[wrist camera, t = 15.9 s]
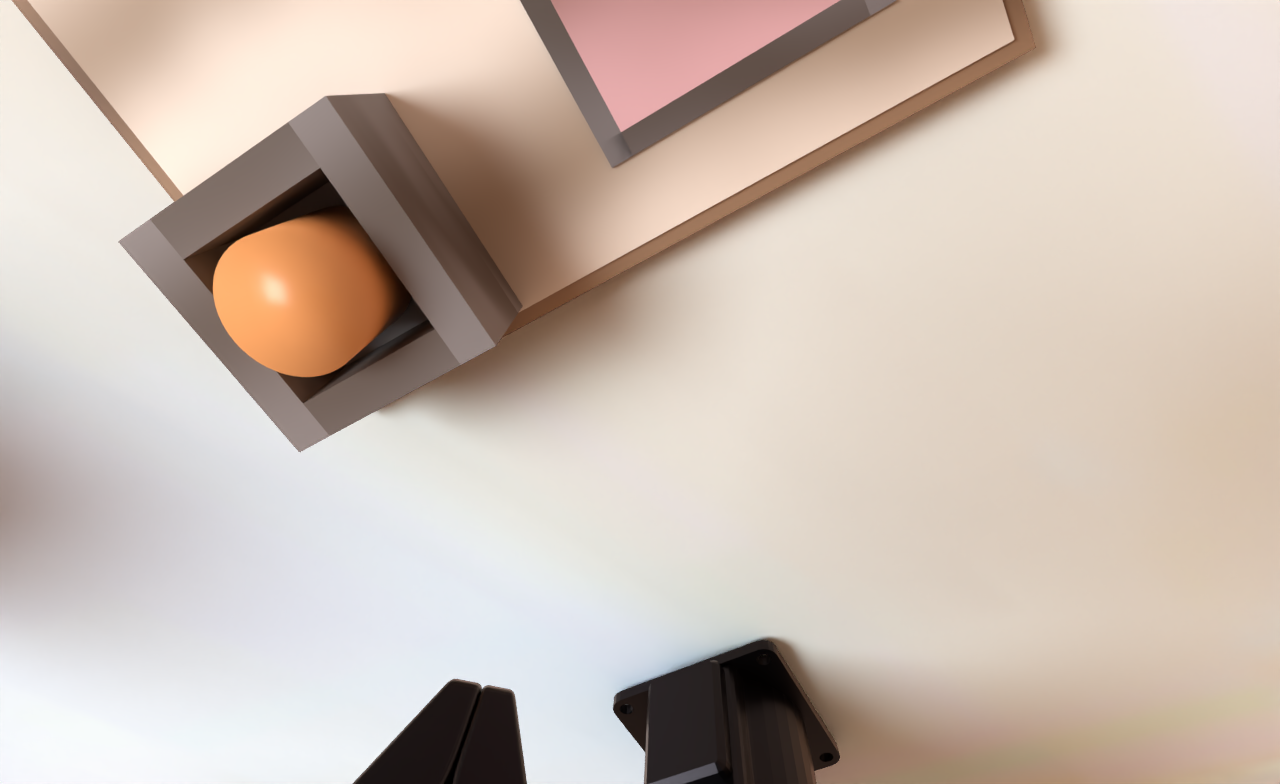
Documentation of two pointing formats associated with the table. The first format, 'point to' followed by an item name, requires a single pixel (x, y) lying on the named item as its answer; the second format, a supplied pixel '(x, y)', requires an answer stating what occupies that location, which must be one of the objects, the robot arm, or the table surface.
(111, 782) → the table surface
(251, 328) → the button
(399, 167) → the colouring board
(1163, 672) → the table surface
